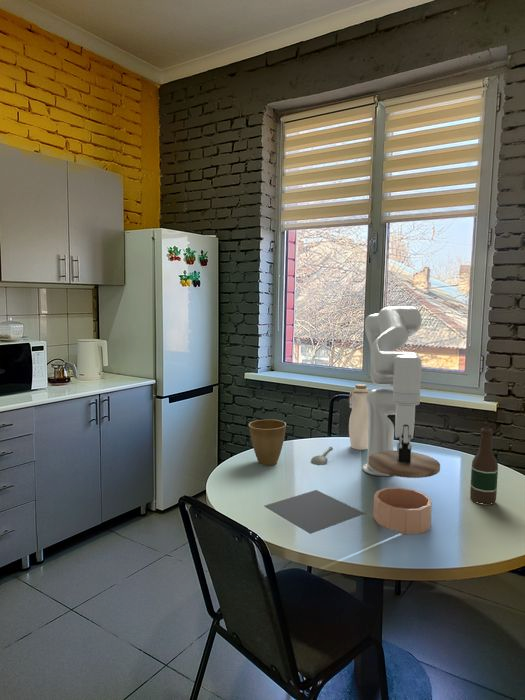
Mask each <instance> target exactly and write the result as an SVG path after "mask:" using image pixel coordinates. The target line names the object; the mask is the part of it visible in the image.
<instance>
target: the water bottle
mask: <svg viewBox="0 0 525 700" xmlns="http://www.w3.org/2000/svg"><path fill="white" fill-rule="evenodd" d="M354 386H355V387H354V389H353V390H350V392H349V397H348V406H349V409H350V408H351V412H350V416H349V420H348V435H349V441H350V448H352V449H354V450H360V451H361V450H363V451H364V450H368V409H367V394H368V393H369V392H370V391H371V390H369V389H368V386H367V384H363V383H356V384H355V385H354Z"/></svg>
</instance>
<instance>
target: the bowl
mask: <svg viewBox="0 0 525 700" xmlns="http://www.w3.org/2000/svg"><path fill="white" fill-rule="evenodd" d="M432 506H433V500H432V498H431V497H430V496H428V495H427V494H425V493H423V492H421V491H418V490H416V489H412V488H406V487H385V488H382V489H381V488H380V489H378V490H377V491H376V492H375V494H374V495H373V514H372V515H373V519H374V520H375V521H376V523H377V524H378V525H380V526H382V527H384V528H386V529H388V530H391V531H395V532H399V534H403V535H420V534H423V533H425V532H427V531H430V529H431V526H430V525H432V511H433V510H432V509H433V508H432Z"/></svg>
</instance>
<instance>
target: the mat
mask: <svg viewBox="0 0 525 700" xmlns="http://www.w3.org/2000/svg"><path fill="white" fill-rule="evenodd" d="M264 507H265V508H267V509H268V510H270V511H271V512H274V513H275V514H277V515H278V516H280V517H282V518H283V519H284V520H287V522H290V523H292V524H293V525H295V526H296V527H299V528H300V529H302V530H303V531H305V532H307V533H309V534H310V535H311V534H313V533H317V532H319V531H321V530H325V529H326V528H329V527H332V526H335V525H338V524H341V523H343V522H346V521H348V520H351V519H353V518H357V517H359V516H362V515H364V514H365V515H366V512H364V511H361V510H359V509H358V508H355V507H354V506H351V505H349V504H346V503H344V502H343V501H340V500H338V499H337V498H334V497H332V496H330V495H328V494H325V493H324V492H321V491H320V490H317V489H314V490H311V491H307V492H304V493H301V494H298V495H295V496H292V497H289V498H285V499H282V500H278V501H276V502H272V503H268V504H265V505H264Z"/></svg>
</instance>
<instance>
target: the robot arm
mask: <svg viewBox="0 0 525 700" xmlns="http://www.w3.org/2000/svg"><path fill="white" fill-rule="evenodd" d="M421 327H422V314H421V312H420V310H419V309H418V308H417V307H415V306H387V307H384V308H382V309H380V310H379V312H378V313H373V314H369V315H367V316H366V318H365V321H364V329H365V335H366V339H367V342H368V345H369V348H370V379H371V382H372V384H374V385H377V386H392V388H375V389H372V390H369V391H370V392H369V393H367V409H368V449H367V458H366V459H367V460H366V463H364V464H363V465H362V470H363V471H364V473H367V474H369V475H372V476H378V477H379V476H380V477H390V476H392V475H388V474H384V473H381V472H379V471H377V470H375V469H373V468H372V467H371V466H370V465H369V456H370V455H372V454H374V453H377V452H381V451H394V445H395V444H394V442H395V441H394V440H395V439H398V438H399V439H398V441H399V442H398V443H400V448H399V462H403V463H410V453H411V452H412V448H411V449H410V444H411V440H412V439H414V431H415V417H416V406H419V405H420V404H421V403H420V400H421V381H422V377H421V376H422V366H423V365H422V363H423V362H422V358H421V357H420V355H419V354H418V353H417V352H414V351H395V350H398V349H399V348H402V347H403V346H404V345H406V343H407V342H408V339H409V337H412V336H413V335H415V333H417V332H418V331H419V330H420V329H421ZM393 415H394V423H393V422H392V420H391V419H390V418H389V417H388V416H393Z"/></svg>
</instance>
